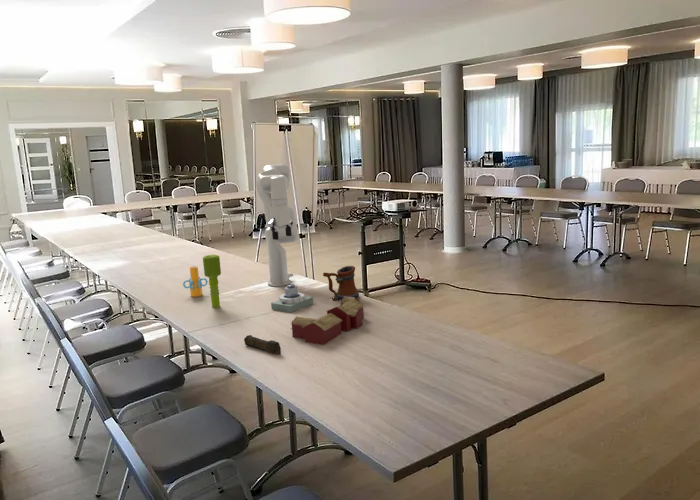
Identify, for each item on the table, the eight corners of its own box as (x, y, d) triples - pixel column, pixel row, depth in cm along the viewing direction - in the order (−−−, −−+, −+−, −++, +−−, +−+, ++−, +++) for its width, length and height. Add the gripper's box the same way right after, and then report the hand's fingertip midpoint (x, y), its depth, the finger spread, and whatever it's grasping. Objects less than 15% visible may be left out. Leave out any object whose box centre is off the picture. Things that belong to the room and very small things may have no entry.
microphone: (220, 309, 273) (215, 257, 268) (205, 308, 274) (199, 257, 270) (227, 304, 281) (222, 253, 276) (212, 304, 282) (207, 253, 277)
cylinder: (200, 298, 293) (197, 269, 290) (181, 298, 295) (178, 269, 292) (211, 292, 304) (208, 264, 301) (192, 292, 306) (189, 264, 304)
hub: (291, 297, 275) (290, 283, 274) (301, 298, 272) (299, 284, 270) (283, 300, 271) (281, 286, 269) (292, 302, 267) (291, 287, 266)
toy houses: (329, 346, 218) (328, 321, 216) (285, 339, 228) (283, 314, 226) (383, 312, 256) (383, 290, 254) (343, 307, 266) (342, 286, 264)
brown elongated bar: (244, 346, 223) (243, 334, 222) (252, 343, 226) (251, 331, 225) (274, 357, 210) (273, 345, 209) (283, 354, 213) (282, 342, 212)
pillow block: (293, 300, 281) (292, 290, 280) (313, 303, 275) (312, 292, 274) (271, 309, 268) (270, 298, 267) (291, 312, 262) (290, 301, 261)
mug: (331, 304, 271) (329, 273, 268) (319, 299, 280) (317, 269, 277) (363, 297, 280) (362, 267, 277) (351, 292, 289) (349, 263, 286)
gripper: (285, 199, 286) (287, 234, 289) (261, 204, 272) (264, 240, 275) (297, 200, 282) (299, 235, 285) (273, 205, 268) (276, 241, 271)
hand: (282, 237), depth 280 cm, fingers open, 9 cm apart
